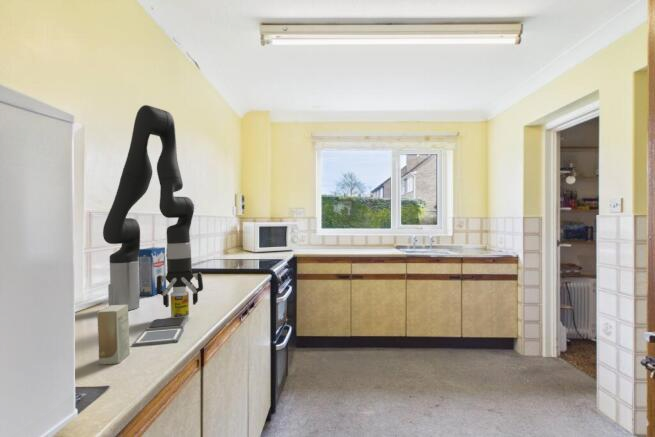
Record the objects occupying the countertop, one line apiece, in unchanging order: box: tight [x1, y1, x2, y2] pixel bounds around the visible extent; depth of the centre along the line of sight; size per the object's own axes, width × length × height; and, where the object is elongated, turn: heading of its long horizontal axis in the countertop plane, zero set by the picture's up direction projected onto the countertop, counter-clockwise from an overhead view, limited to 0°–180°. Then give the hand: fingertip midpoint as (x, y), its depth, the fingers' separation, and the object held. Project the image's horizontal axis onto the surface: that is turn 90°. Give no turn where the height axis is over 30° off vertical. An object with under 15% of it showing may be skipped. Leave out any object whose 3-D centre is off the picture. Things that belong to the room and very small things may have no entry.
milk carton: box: [138, 246, 167, 297], centre depth 162 cm, size 10×6×20 cm, turn 172°
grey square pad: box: [131, 328, 185, 347], centre depth 101 cm, size 11×10×1 cm
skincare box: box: [96, 305, 131, 365], centre depth 87 cm, size 6×4×12 cm
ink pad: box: [145, 316, 189, 332], centre depth 113 cm, size 10×10×1 cm
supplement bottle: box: [170, 286, 190, 318], centre depth 123 cm, size 6×6×10 cm
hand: (180, 305), depth 123 cm, fingers open, 8 cm apart
